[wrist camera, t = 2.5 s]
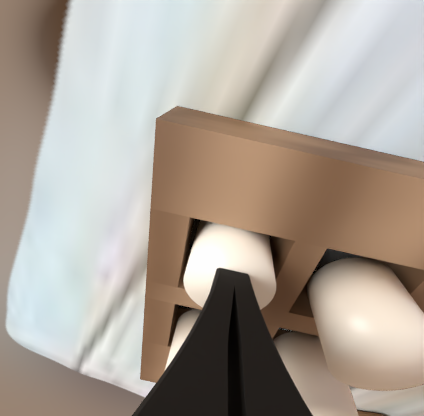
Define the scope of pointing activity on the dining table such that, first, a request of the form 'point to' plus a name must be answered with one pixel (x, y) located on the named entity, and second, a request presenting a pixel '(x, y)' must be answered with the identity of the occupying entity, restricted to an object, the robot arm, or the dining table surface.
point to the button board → (273, 214)
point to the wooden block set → (368, 413)
